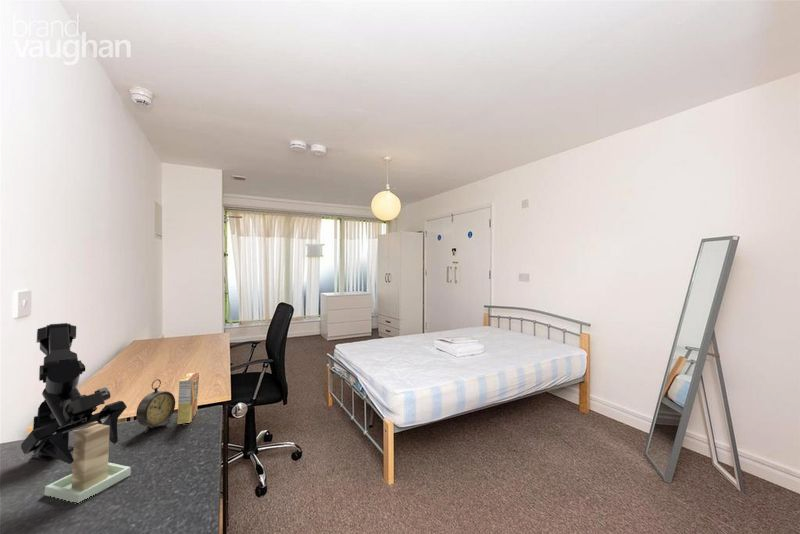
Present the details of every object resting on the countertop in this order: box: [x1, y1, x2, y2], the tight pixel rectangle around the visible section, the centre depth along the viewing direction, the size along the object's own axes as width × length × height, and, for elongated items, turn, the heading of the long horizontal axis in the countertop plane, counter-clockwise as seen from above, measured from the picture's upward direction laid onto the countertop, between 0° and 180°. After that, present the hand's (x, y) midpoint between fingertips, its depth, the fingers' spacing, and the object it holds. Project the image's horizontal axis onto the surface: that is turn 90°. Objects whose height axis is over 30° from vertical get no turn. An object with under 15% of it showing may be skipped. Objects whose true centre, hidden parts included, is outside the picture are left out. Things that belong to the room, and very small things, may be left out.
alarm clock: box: [135, 378, 176, 433], centre depth 108 cm, size 11×5×16 cm, turn 168°
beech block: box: [71, 423, 110, 491], centre depth 79 cm, size 4×5×13 cm
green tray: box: [44, 461, 132, 504], centre depth 78 cm, size 11×11×2 cm
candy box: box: [176, 372, 200, 425], centre depth 115 cm, size 9×4×15 cm, turn 19°
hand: (95, 452), depth 78 cm, fingers open, 9 cm apart
